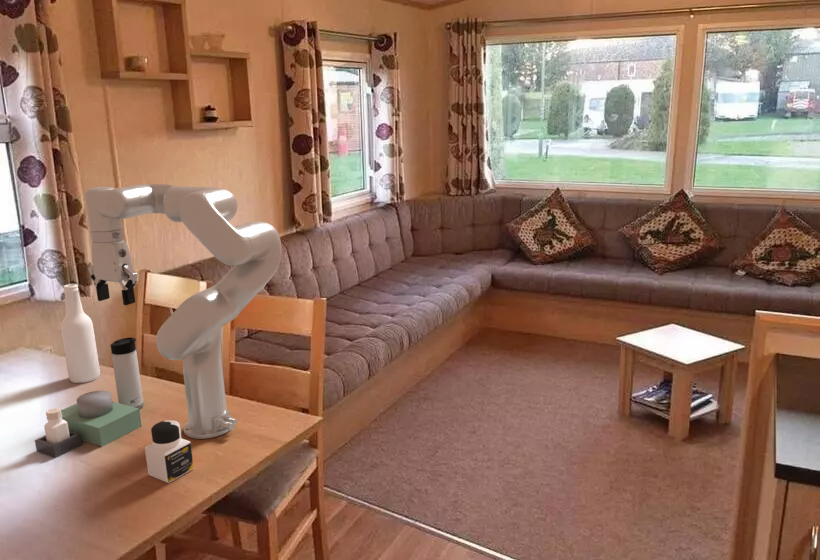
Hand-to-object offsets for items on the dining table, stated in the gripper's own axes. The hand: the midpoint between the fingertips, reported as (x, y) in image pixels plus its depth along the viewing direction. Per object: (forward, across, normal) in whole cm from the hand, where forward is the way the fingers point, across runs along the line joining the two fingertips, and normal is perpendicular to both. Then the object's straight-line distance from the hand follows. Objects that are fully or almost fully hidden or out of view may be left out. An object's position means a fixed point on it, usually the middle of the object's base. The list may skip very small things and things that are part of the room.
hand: (116, 301), depth 170 cm
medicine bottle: (+32, -32, +16) cm, 48 cm away
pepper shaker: (+32, +2, +20) cm, 38 cm away
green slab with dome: (+32, +2, +9) cm, 34 cm away
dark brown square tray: (+32, +2, +20) cm, 38 cm away
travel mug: (+32, +5, -4) cm, 33 cm away
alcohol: (+32, +36, -12) cm, 50 cm away
